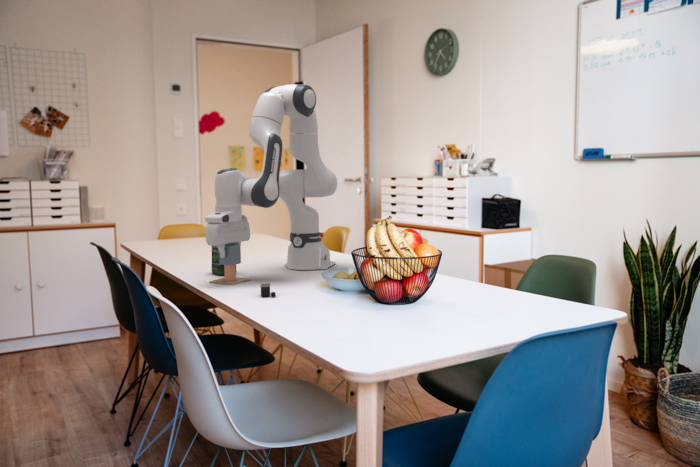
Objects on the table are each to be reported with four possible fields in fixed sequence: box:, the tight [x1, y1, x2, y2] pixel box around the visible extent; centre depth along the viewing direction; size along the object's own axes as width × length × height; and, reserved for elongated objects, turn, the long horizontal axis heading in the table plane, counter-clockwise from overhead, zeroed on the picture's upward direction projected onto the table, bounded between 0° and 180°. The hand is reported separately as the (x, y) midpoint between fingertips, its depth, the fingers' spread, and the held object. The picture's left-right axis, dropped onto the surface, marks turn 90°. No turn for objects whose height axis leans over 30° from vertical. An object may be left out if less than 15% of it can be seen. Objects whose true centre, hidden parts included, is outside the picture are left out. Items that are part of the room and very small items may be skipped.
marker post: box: [208, 265, 251, 286], centre depth 198 cm, size 10×10×7 cm
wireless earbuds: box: [260, 282, 277, 298], centre depth 175 cm, size 4×7×3 cm, turn 6°
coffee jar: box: [211, 243, 237, 276], centre depth 213 cm, size 10×8×19 cm
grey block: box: [219, 244, 242, 265], centre depth 197 cm, size 5×5×7 cm
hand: (229, 256), depth 197 cm, fingers closed on grey block, 5 cm apart
